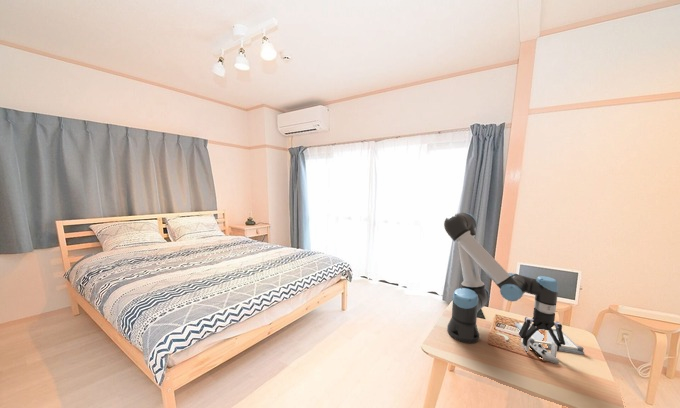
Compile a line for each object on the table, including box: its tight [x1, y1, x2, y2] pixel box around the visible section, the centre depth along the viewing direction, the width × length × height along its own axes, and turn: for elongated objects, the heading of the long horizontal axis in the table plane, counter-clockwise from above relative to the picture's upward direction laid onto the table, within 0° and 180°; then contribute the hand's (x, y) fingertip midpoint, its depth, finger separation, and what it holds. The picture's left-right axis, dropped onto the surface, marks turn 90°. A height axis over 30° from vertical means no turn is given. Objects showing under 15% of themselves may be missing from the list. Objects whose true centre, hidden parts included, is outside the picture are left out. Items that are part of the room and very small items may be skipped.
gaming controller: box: [529, 343, 560, 365], centre depth 111 cm, size 11×6×7 cm
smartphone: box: [477, 308, 486, 320], centre depth 148 cm, size 7×1×15 cm
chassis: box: [514, 322, 585, 355], centre depth 123 cm, size 22×18×3 cm
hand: (539, 354), depth 111 cm, fingers open, 10 cm apart
